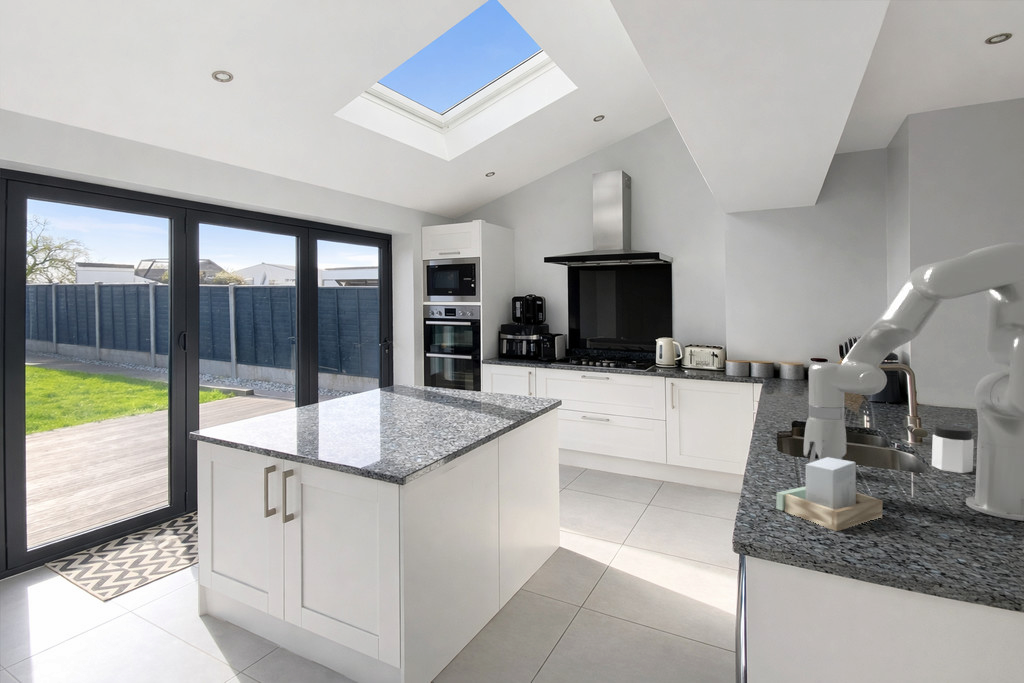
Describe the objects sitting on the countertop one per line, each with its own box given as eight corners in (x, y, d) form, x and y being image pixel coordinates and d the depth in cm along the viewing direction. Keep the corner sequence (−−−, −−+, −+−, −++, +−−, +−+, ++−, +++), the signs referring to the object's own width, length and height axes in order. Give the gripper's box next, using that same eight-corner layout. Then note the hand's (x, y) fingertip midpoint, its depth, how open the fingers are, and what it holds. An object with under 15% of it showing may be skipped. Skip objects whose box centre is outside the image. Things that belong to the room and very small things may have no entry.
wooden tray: (882, 518, 111) (882, 500, 111) (836, 531, 104) (836, 512, 104) (829, 500, 121) (829, 484, 121) (784, 511, 114) (785, 494, 114)
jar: (979, 474, 141) (980, 431, 141) (946, 472, 143) (947, 430, 142) (957, 465, 150) (958, 425, 150) (926, 463, 152) (927, 424, 151)
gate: (831, 498, 122) (832, 477, 122) (782, 510, 114) (782, 488, 114) (812, 492, 126) (812, 471, 126) (762, 503, 119) (763, 481, 119)
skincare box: (825, 499, 119) (826, 455, 119) (856, 508, 114) (857, 462, 113) (803, 509, 113) (804, 462, 113) (834, 518, 108) (835, 470, 108)
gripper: (831, 407, 131) (830, 477, 132) (791, 413, 125) (791, 486, 126) (861, 412, 124) (860, 485, 125) (820, 418, 118) (820, 495, 119)
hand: (826, 485), depth 125 cm, fingers closed
